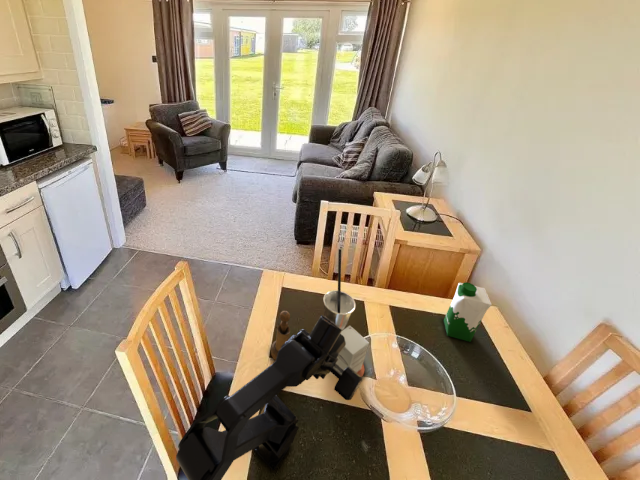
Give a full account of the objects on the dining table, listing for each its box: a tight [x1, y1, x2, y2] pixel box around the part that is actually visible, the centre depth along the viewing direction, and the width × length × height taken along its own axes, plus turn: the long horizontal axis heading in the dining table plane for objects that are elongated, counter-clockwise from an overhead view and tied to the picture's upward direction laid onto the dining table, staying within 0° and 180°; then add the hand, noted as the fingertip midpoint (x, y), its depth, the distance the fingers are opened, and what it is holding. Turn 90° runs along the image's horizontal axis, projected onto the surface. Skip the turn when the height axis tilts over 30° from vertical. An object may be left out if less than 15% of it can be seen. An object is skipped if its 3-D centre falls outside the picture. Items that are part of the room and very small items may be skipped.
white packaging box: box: [334, 325, 370, 375], centre depth 94 cm, size 7×7×13 cm
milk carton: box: [443, 281, 493, 343], centre depth 105 cm, size 9×9×20 cm
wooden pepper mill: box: [270, 310, 291, 362], centre depth 96 cm, size 7×6×18 cm
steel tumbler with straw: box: [323, 248, 357, 331], centre depth 101 cm, size 11×11×30 cm
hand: (334, 362), depth 87 cm, fingers open, 9 cm apart
